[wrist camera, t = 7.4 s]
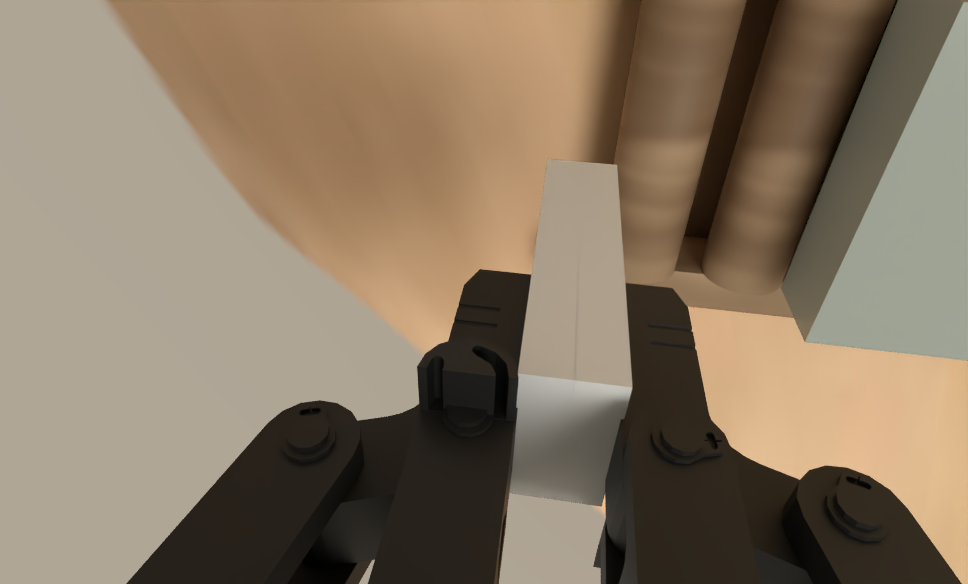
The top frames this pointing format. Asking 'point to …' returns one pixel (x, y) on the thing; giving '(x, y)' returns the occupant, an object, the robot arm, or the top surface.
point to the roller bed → (759, 148)
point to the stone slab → (896, 200)
